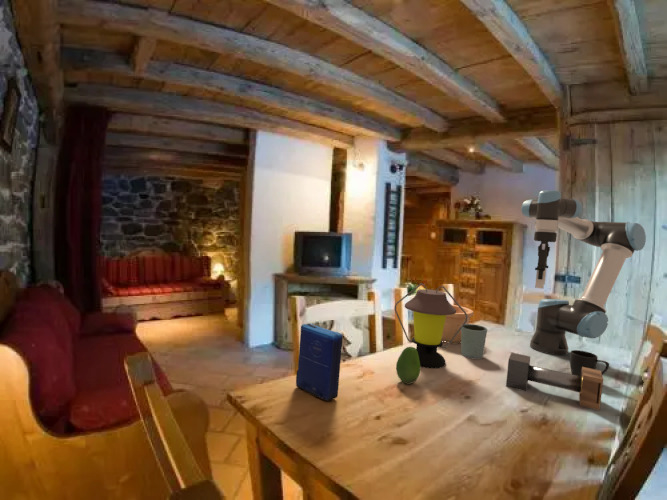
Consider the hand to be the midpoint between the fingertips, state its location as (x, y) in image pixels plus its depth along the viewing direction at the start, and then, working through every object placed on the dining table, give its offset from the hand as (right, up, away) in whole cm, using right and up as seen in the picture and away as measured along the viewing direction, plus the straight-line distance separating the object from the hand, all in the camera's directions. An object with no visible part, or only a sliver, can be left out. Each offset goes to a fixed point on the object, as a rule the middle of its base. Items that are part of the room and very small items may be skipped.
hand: (540, 286), depth 148 cm
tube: (-9, -30, -23) cm, 39 cm away
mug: (+11, -34, -10) cm, 37 cm away
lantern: (-44, -29, -1) cm, 53 cm away
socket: (0, -34, -28) cm, 44 cm away
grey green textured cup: (-23, -30, +10) cm, 39 cm away
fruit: (-56, -30, -22) cm, 67 cm away
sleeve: (-17, -32, -18) cm, 40 cm away
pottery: (-27, -28, +33) cm, 51 cm away
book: (-85, -29, -34) cm, 96 cm away
